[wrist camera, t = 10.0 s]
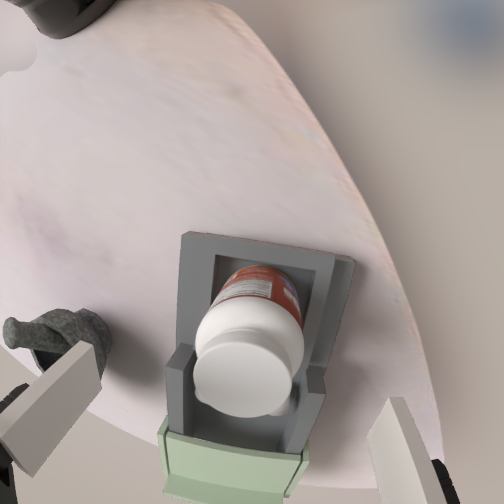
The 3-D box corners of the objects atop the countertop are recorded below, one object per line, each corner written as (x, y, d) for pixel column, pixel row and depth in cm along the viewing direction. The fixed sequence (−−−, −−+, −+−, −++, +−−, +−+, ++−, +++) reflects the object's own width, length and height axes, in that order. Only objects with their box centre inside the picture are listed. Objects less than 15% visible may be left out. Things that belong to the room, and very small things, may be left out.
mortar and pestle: (133, 371, 29) (81, 438, 17) (77, 362, 30) (24, 413, 18) (106, 280, 26) (26, 328, 15) (51, 282, 28) (-20, 318, 16)
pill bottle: (299, 331, 23) (307, 427, 12) (227, 334, 24) (192, 425, 13) (296, 260, 22) (309, 324, 11) (218, 264, 22) (165, 327, 12)
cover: (166, 414, 25) (146, 454, 19) (308, 440, 24) (310, 485, 18) (170, 458, 27) (156, 492, 21) (289, 479, 26) (287, 517, 20)
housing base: (190, 226, 24) (162, 237, 18) (350, 251, 23) (371, 271, 17) (182, 422, 30) (167, 456, 24) (292, 442, 29) (292, 478, 23)
